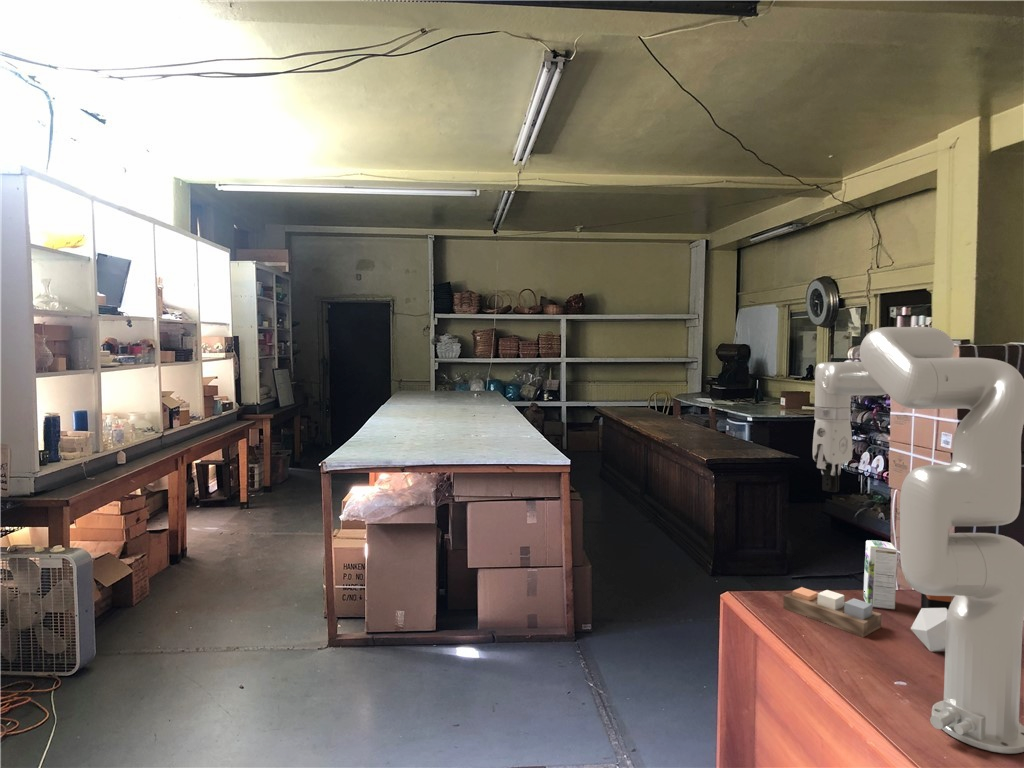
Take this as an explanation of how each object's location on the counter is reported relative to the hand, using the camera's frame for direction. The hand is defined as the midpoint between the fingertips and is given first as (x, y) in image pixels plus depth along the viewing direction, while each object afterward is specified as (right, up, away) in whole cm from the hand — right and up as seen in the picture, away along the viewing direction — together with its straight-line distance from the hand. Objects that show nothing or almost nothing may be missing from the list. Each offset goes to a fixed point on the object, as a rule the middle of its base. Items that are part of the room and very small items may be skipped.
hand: (830, 490), depth 145 cm
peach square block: (-7, -26, -2) cm, 27 cm away
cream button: (-4, -25, -7) cm, 26 cm away
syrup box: (+12, -27, 0) cm, 30 cm away
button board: (-4, -28, -7) cm, 29 cm away
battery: (+19, -28, -8) cm, 35 cm away
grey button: (0, -26, -12) cm, 28 cm away
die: (+11, -29, -21) cm, 37 cm away
